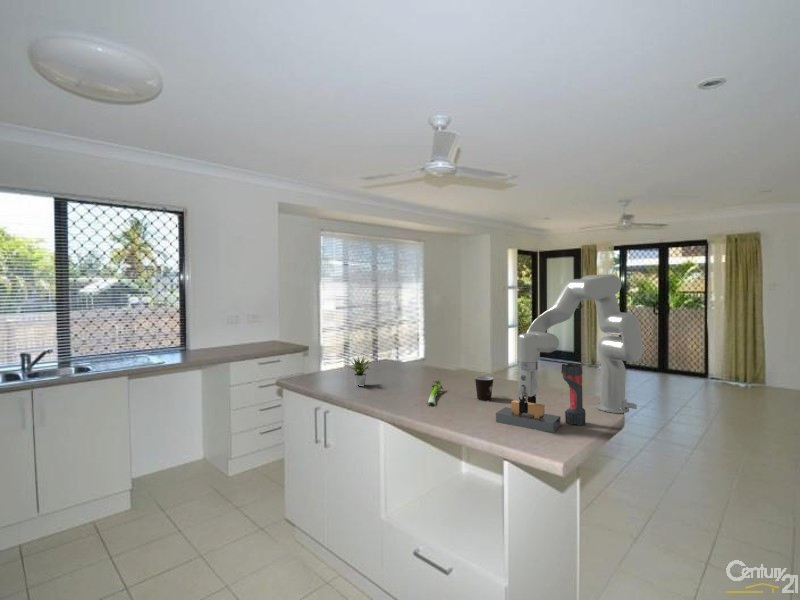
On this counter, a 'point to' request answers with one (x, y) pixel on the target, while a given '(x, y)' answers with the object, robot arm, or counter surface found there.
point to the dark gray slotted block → (528, 420)
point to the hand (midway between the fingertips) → (527, 409)
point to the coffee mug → (484, 387)
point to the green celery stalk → (434, 392)
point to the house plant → (360, 371)
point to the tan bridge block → (529, 409)
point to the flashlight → (574, 394)
